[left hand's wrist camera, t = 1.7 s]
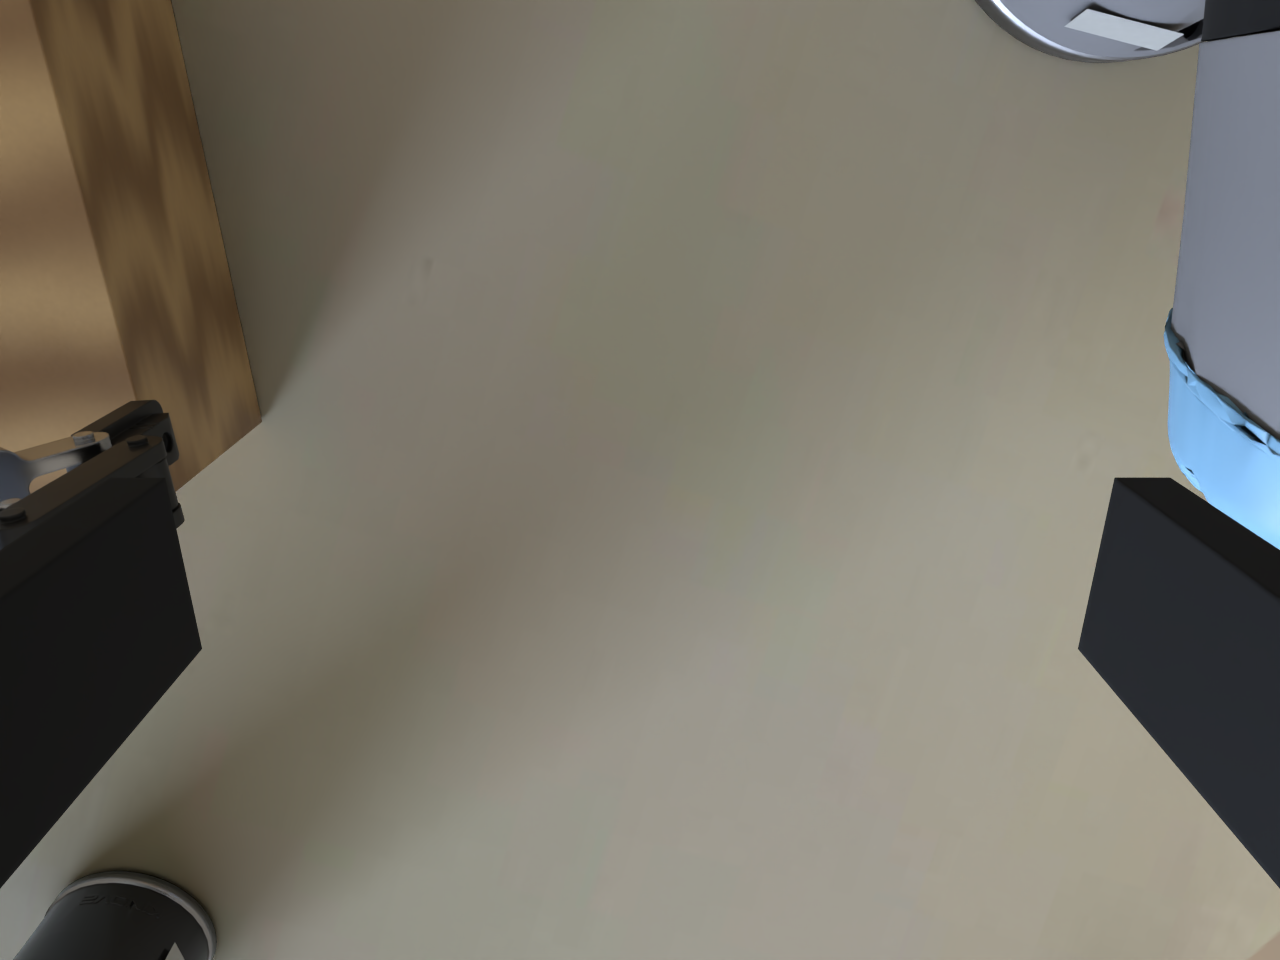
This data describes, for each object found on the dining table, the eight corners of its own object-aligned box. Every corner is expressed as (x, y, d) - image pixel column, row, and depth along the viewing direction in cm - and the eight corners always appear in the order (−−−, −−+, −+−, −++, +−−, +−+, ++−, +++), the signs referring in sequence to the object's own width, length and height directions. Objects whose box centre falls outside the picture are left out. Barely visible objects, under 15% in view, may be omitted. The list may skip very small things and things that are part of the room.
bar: (-26, -181, 32) (-269, -298, 23) (130, -189, 32) (-53, -309, 23) (139, 428, 40) (7, 509, 32) (262, 421, 40) (164, 501, 32)
